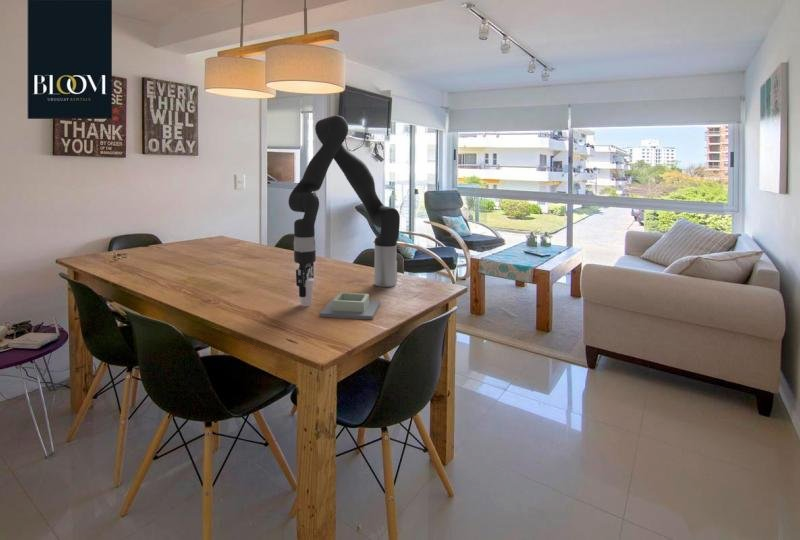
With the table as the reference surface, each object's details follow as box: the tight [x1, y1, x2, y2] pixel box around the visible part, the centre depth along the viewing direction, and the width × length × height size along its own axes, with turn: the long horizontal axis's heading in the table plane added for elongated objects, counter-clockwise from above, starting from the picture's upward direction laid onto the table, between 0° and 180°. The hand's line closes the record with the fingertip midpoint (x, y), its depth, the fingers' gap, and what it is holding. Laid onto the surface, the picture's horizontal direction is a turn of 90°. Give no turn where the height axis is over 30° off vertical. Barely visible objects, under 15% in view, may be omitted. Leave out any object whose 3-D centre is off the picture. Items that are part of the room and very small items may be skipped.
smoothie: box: [297, 277, 315, 307], centre depth 174 cm, size 6×6×14 cm
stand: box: [319, 292, 381, 320], centre depth 171 cm, size 18×18×5 cm
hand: (305, 293), depth 175 cm, fingers open, 7 cm apart
